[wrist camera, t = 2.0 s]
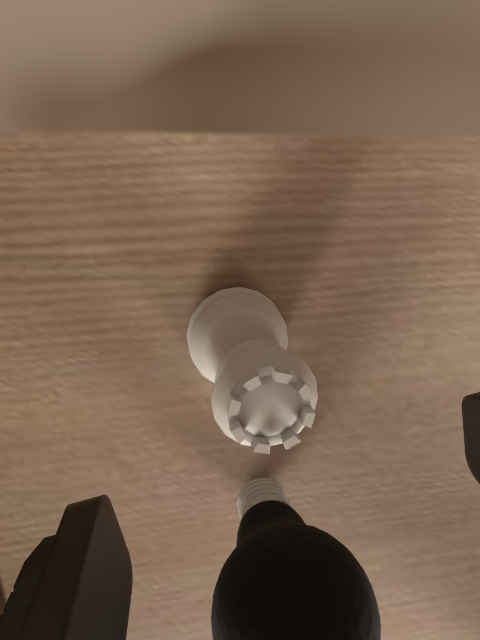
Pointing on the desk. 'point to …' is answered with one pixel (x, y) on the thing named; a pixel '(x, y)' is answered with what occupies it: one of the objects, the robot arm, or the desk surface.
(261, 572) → the light bulb
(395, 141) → the desk surface
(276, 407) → the rook chess piece
